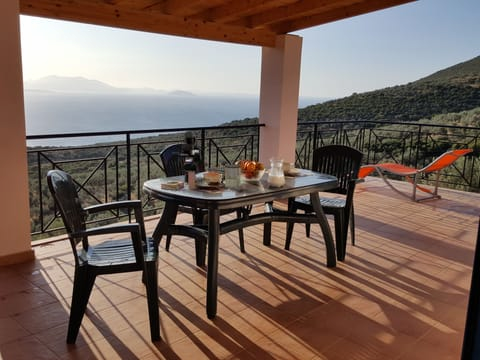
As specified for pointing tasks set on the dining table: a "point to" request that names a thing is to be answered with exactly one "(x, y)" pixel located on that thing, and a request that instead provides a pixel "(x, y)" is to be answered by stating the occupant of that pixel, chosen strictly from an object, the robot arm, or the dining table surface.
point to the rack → (172, 185)
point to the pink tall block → (191, 180)
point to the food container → (218, 171)
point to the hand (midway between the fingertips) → (184, 165)
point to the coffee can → (232, 175)
